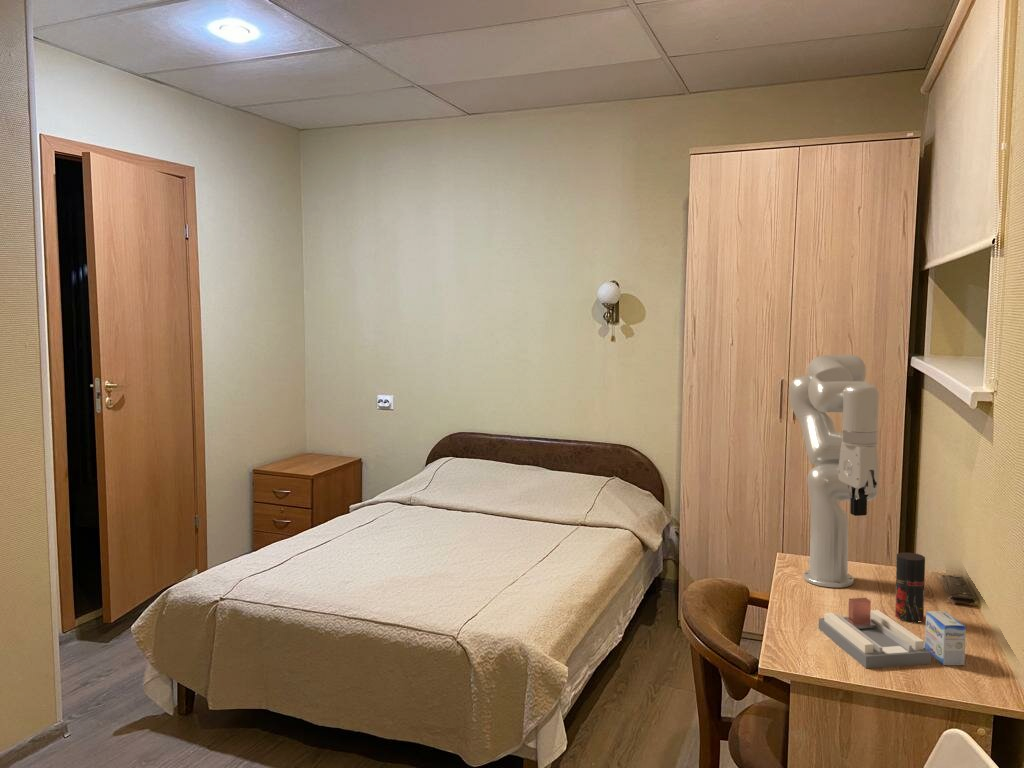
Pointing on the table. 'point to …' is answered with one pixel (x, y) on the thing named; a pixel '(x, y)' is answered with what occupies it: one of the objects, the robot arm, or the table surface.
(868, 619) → the lever
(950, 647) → the medicine box
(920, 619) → the deodorant
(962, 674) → the table surface
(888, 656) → the breaker panel
